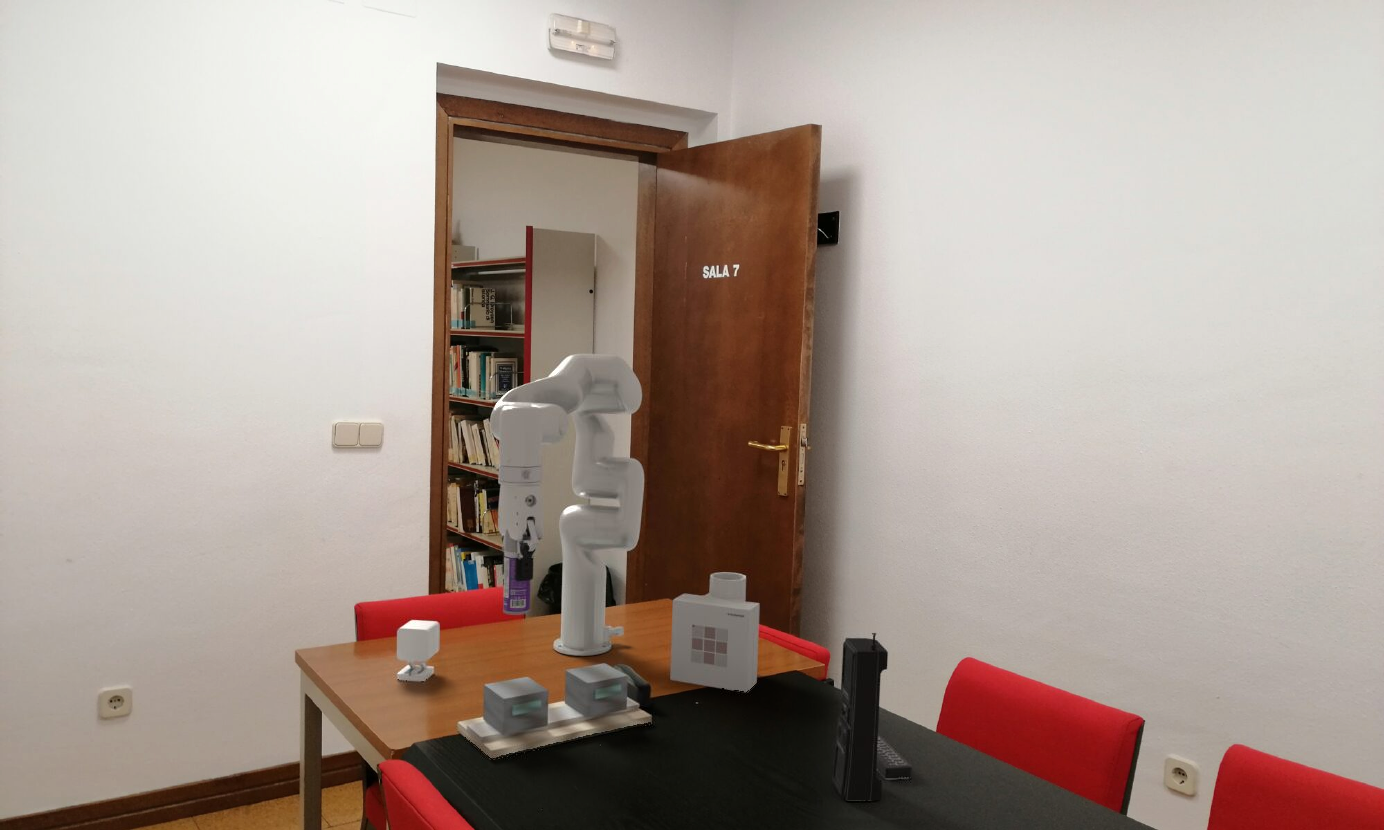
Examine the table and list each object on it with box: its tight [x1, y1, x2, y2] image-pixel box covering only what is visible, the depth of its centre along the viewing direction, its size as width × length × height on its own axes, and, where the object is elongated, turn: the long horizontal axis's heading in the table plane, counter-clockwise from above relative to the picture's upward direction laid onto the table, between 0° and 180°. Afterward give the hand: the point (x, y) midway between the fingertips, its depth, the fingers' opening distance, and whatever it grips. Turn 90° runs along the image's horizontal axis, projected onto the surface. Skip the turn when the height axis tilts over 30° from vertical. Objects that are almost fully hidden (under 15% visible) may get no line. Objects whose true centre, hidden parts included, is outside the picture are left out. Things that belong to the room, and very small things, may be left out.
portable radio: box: [832, 632, 889, 801], centre depth 147 cm, size 8×6×25 cm
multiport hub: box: [876, 733, 913, 778], centre depth 159 cm, size 4×14×2 cm, turn 12°
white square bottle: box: [669, 571, 760, 693], centre depth 200 cm, size 16×19×20 cm
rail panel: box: [457, 662, 653, 759], centre depth 168 cm, size 30×14×8 cm, turn 125°
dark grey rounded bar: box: [613, 663, 652, 708], centre depth 185 cm, size 5×3×15 cm
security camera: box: [396, 619, 441, 682], centre depth 193 cm, size 6×7×10 cm
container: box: [502, 529, 531, 616], centre depth 174 cm, size 5×5×15 cm
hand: (517, 575), depth 174 cm, fingers closed on container, 4 cm apart
